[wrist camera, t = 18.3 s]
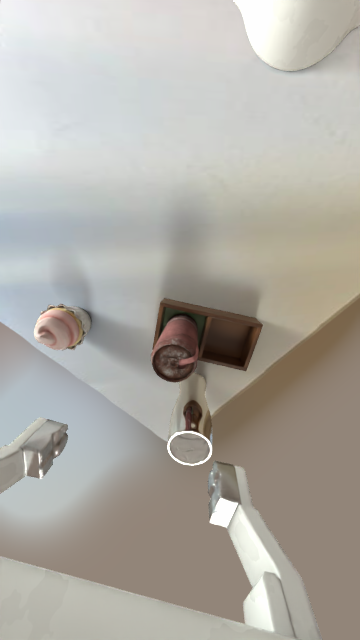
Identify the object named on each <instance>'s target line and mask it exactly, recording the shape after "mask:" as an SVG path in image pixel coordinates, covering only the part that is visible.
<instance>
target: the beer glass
mask: <svg viewBox="0 0 360 640" xmlns="http://www.w3.org/2000/svg"><path fill="white" fill-rule="evenodd" d="M179 388H180V392H179V396H178V398H177V401H176V403H175V405H174V408H173V411H172V414H171V419H170V425H169V434H168V444H167V448H168V452H169V453H170V455H171V456H172V457H173V458H174V459H175V460H177V461H178V462H180V463H183V464H187V465H197V464H201V463H204V462H205V461H207V460H208V459H209V458H210V456H211V454H212V423H211V415H210V411H209V408H208V404H207V401H206V397H205V391H206V381H205V379H204V378H203V376H201V375H200V374H198V373H194V372H193V373H192V374H191V376H189V377H188V378H187V379H186V380H183V381H181V382H179Z"/></svg>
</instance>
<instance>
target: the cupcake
mask: <svg viewBox="0 0 360 640" xmlns="http://www.w3.org/2000/svg"><path fill="white" fill-rule="evenodd" d="M90 328H91V319H90V317H89V315H88V313H87V312H86V311H84V310H83V309H81V308H79V307H73V306H69V307H68V306H65V305H63V304H60V305H58V306H54V305H49V306H48V308H47V310H46V311H42V312H41V316H40V317H39V319H38V321H37V323H36V326H35V330H34V336H35V339H36V340H37V341H38V342H39V343H42V344H44V345H46V346H47V347H50V348H52V349H55V350H65V349H67V348H68V349H71V350H75V348H76V346H77V345H81V344H82V343H83V340H84V337H85V336H86V334H87V333H88V332H89V330H90Z"/></svg>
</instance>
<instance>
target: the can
mask: <svg viewBox="0 0 360 640" xmlns="http://www.w3.org/2000/svg"><path fill="white" fill-rule="evenodd" d="M198 352H199V349H198V327H197V323H196V321H195V320H194V319H193V318H192V317H191V316H189V315H187V314H182V313H181V314H176V315H174V316H172V317H171V318H170V319H169V321H168V323H167V325H166V326H165V328H164V330H163V332H162V334H161V336H160V338H159V340H158V342H157V343H156V345H155V347H154V349H153V352H152V354H151V362H152V365H153V369H154V371H155V372H156V374H157V375H158V376H159V377H160V378H162V379H164V380H166V381H169V382H181V381H183V380H186V379H187V378H188V377H189V376H191V374H192V373H193V372H194V371H195V369H196V367H197V361H198Z"/></svg>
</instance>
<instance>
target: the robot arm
mask: <svg viewBox="0 0 360 640" xmlns="http://www.w3.org/2000/svg"><path fill="white" fill-rule="evenodd" d="M233 1H234V3H235V4H236V5H237V7H238V8H239V9H240V11H241V13H242V16H243V19H244V23H245V28H246V32H247V35H248V38H249V41H250V43H251V45H252V47H253V49H254V51H255V52H256V54H257V55H258V56H259V57H260V58H261V59H262V60H263V61H264V62H265V63H266V64H268V65H269V66H271V67H273V68H275V69H279V70H283V71H296V70H301V69H305V68H308V67H310V66H312V65H314V64H316V63H318V62H319V61H321V60H322V59H324V58H325V57H326V56H327V55H329V54H330V53H331V52H332V51H333V50H334V49H335V48H336V47H337V46H338V45H339V44H340V42H341V41H342V40H343V39H344V38H345V37H346V36H347V35H348V33H349V32H351V31H352V30H353V29H354V28H356V27H358V26H360V0H233ZM67 429H68V425H67V424H63V423H59V422H56V421H52V420H49V419H45V418H41V417H40V418H38V419H36V420H35V421H34V422H33V423H32V424H31V425H30V426H29V427H28V428H27V429H26V430H25V431H24V432H23V433H21V434H20V435H19V436H18V437H17V438H16V439H15V440H14V441H13V442H12V443H11V444H10V445H9V446H8V445H5V446H3V447H1V448H0V494H1V493H2V492H4V491H5V490H7V489H8V488H9V487H11V486H12V485H14V484H15V483H16V482H18V481H19V480H21V479H22V478H23V477H25V475H26V476H31V477H36V478H40V479H42V478H43V477H44V476H45V474H46V473H47V472H48V470H49V469H50V467H51V466H52V465H53V459H54V458H56V457H57V456H59V455H60V454H61V452H62V451H63V449H64V447H65V445H66V443H67V440H68V435H67V434H66V431H67ZM208 493H209V496H210V497H211V500H210V502H209V522H210V523H213V524H217V525H220V526H224V527H227V530H228V532H229V535H230V537H231V539H232V542H233V544H234V546H235V548H236V551H237V553H238V556H239V558H240V560H241V562H242V565H243V567H244V569H245V572H246V574H247V576H248V579H249V581H250V583H251V586H252V588H253V589H252V590H251V592H250V593H249V595H248V596H247V598H246V599H245V601H244V603H243V609H244V616H245V624H243V623H239V622H235V621H232V620H228V619H224V618H221V617H217V616H213V615H210V614H206V613H203V612H199V611H196V610H192V609H189V608H185V607H182V606H178V605H174V604H170V603H167V602H163V601H160V600H156V599H153V598H149V597H145V596H142V595H138V594H135V593H131V592H127V591H124V590H120V589H117V588H113V587H109V586H106V585H102V584H98V583H95V582H92V581H88V580H84V579H81V578H77V577H74V576H70V575H66V574H62V573H59V572H55V571H52V570H48V569H45V568H41V567H38V566H34V565H30V564H27V563H23V562H20V561H16V560H12V559H9V558H5V557H1V556H0V640H322V637H321V634H320V631H319V628H318V625H317V622H316V619H315V616H314V613H313V610H312V607H311V603H310V600H309V597H308V594H307V591H306V588H305V585H304V582H303V580H302V578H301V577H300V575H299V573H298V572H297V570H296V569H295V567H294V566H293V564H292V563H291V561H290V560H289V558H288V556H287V555H286V553H285V552H284V550H283V549H282V547H281V546H280V544H279V543H278V541H277V540H276V538H275V536H274V535H273V533H272V532H271V530H270V529H269V527H268V526H267V524H266V523H265V521H264V520H263V518H262V517H261V515H260V513H259V512H258V511H257V509H256V508H253V504H252V499H251V495H250V491H249V486H248V482H247V478H246V473H245V470H244V468H243V467H239V466H234V465H231V464H227V463H222V462H218V461H214V463H213V470H211V471H210V474H209V480H208Z"/></svg>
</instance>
